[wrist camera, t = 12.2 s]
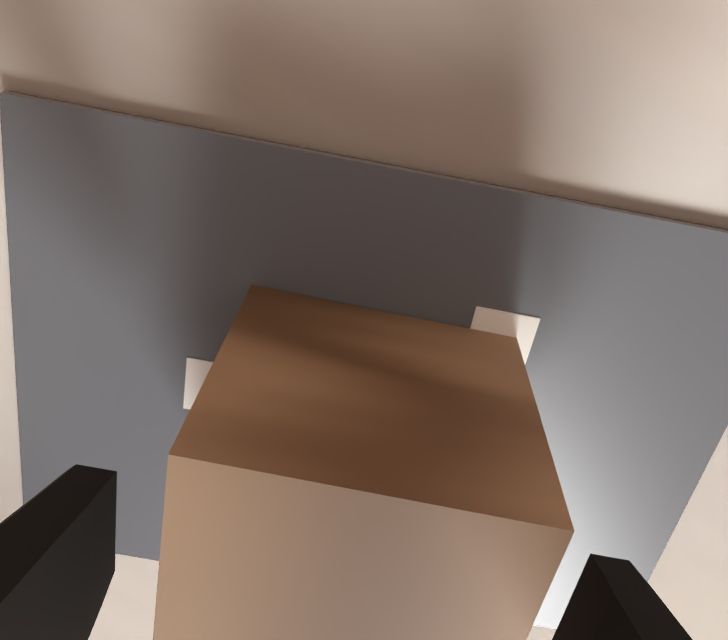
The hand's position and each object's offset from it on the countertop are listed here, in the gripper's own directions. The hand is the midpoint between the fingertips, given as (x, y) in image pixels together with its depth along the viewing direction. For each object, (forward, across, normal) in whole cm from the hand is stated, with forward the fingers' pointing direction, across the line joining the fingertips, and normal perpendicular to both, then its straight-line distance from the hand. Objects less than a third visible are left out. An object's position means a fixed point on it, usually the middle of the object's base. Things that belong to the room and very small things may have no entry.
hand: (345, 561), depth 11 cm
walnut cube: (+4, 0, 0) cm, 4 cm away
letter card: (+4, 0, 0) cm, 4 cm away
